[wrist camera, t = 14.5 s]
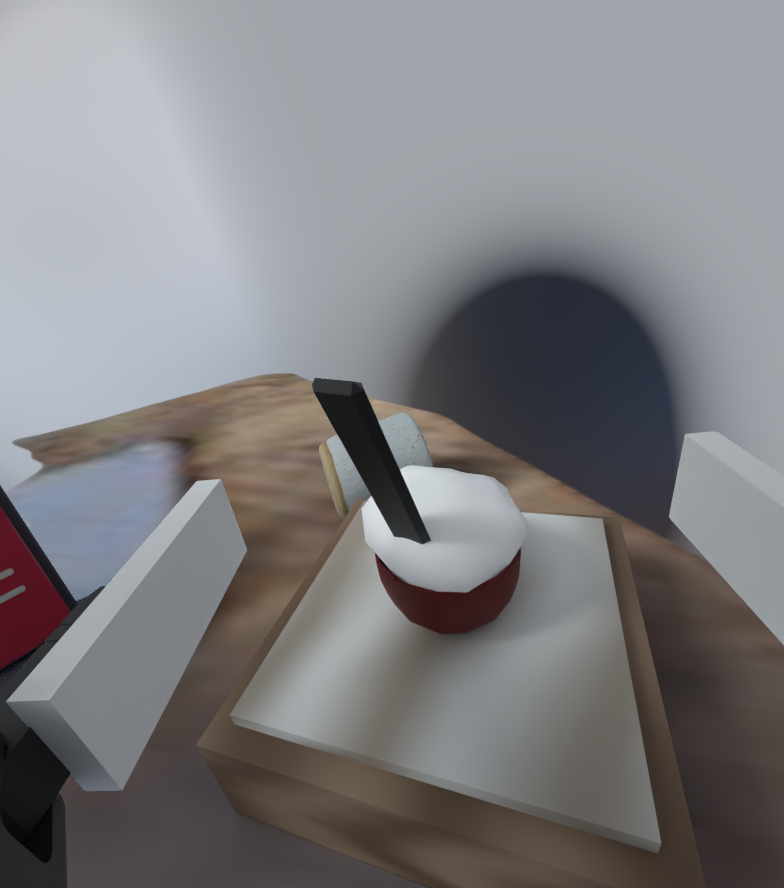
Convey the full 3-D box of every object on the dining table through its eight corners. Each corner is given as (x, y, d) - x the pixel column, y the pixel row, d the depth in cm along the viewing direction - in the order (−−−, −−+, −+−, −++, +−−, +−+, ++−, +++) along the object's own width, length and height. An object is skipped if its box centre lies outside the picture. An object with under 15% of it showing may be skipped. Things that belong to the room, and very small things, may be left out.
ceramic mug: (328, 496, 39) (309, 422, 35) (409, 472, 41) (400, 399, 37) (355, 572, 30) (334, 482, 26) (459, 537, 32) (452, 448, 28)
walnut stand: (236, 812, 18) (190, 735, 15) (369, 554, 31) (356, 490, 28) (679, 985, 12) (720, 911, 10) (610, 583, 26) (620, 509, 23)
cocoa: (469, 533, 24) (456, 314, 19) (569, 592, 19) (585, 316, 14) (319, 622, 19) (252, 360, 14) (400, 731, 14) (340, 389, 9)
